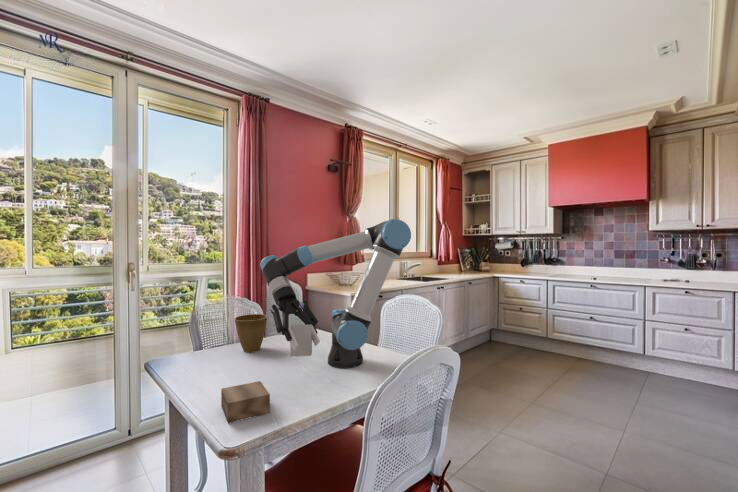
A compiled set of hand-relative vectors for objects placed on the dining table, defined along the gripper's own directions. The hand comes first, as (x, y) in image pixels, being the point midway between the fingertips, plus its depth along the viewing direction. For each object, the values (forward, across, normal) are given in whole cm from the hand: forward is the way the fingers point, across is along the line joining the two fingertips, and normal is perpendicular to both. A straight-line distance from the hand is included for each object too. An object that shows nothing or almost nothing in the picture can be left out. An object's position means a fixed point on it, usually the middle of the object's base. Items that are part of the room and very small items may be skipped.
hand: (307, 345), depth 118 cm
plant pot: (-33, -10, -58) cm, 67 cm away
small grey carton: (0, 0, -5) cm, 5 cm away
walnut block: (+8, +18, -17) cm, 26 cm away
